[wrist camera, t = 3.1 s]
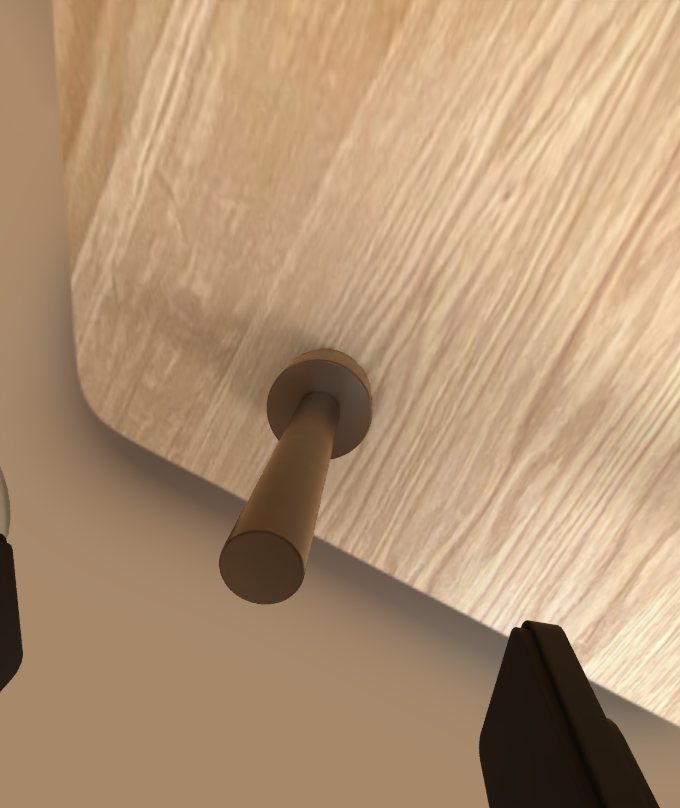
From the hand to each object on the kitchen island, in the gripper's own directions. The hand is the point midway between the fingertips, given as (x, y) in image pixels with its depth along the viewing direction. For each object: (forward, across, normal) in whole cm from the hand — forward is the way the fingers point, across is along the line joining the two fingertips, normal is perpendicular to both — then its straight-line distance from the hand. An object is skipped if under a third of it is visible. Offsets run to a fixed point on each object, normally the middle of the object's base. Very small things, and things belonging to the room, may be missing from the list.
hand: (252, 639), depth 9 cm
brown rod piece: (+17, +1, 0) cm, 17 cm away
